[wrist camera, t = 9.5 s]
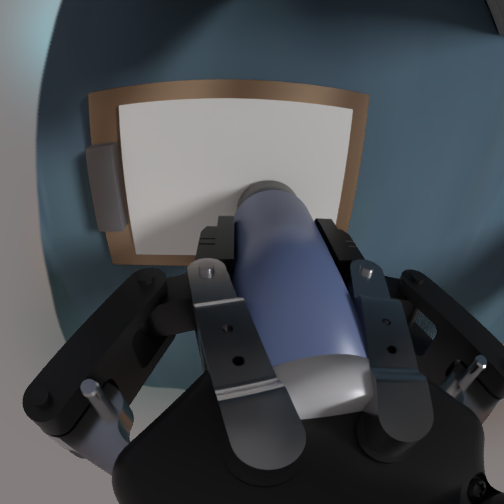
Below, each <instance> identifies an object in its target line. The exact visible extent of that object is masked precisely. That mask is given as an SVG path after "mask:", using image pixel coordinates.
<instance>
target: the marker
mask: <svg viewBox="0 0 504 504" xmlns="http://www.w3.org/2000/svg"><path fill="white" fill-rule="evenodd" d="M232 285H233V287H234V290H235V293H236V295H237V298H238V297H243V299H244V300H245V303H246V305H247V308H248V310H249V312H250V315H251V317H252V320H253V322H254V324H255V327H256V329H257V332H258V334H259V336H260V339H261V341H262V344H263V346H264V348H265V351H266V353H267V355H268V358H269V360H270V363H271V365H272V367H273V370H274V372H275V374H276V376H277V378H278V379H279V380H280V381H281V382H282V383H283V384H284V386H285V387H286V389H287V391H288V393H289V395H290V398H291V400H292V402H293V404H294V406H295V409H296V411H297V413H298V415H299V417H300V420H301V419H311V418H320V417H328V416H335V415H342V414H348V413H354V412H360V411H364V408H365V406H366V405H367V404H368V402H369V401H370V400H371V398H372V397H373V396H374V394H373V386H372V379H371V372H370V366H369V360H368V355H367V350H366V345H365V340H364V336H363V332H362V328H361V324H360V320H359V317H358V314H357V311H356V308H355V306H354V304H353V301H352V299H351V297H350V295H349V292H348V290H347V288H346V286H345V284H344V282H343V279H342V277H341V275H340V273H339V271H338V269H337V267H336V265H335V263H334V260H333V258H332V256H331V254H330V252H329V250H328V248H327V246H326V244H325V242H324V240H323V238H322V236H321V234H320V232H319V230H318V228H317V226H316V224H315V222H314V221H313V219H312V217H311V215H310V213H309V211H308V209H307V207H306V206H305V204H304V203H303V202H302V201H301V200H300V199H299V198H298V197H297V196H296V194H295V193H294V192H293V190H292V189H291V188H290V187H288V186H287V185H285V184H283V183H281V182H278V181H273V180H265V181H260V182H257V183H255V184H253V185H251V186H249V187H248V188H247V189H246V190H245V191H244V192H243V193H242V195H241V196H240V198H239V201H238V204H237V211H236V213H235V216H234V272H233V276H232Z"/></svg>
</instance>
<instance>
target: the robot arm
mask: <svg viewBox="0 0 504 504" xmlns="http://www.w3.org/2000/svg"><path fill="white" fill-rule="evenodd" d="M314 222H315V224H316V226H317V228H318V230H319V232H320V234H321V236H322V238H323V240H324V242H325V244H326V246H327V248H328V250H329V252H330V254H331V256H332V258H333V260H334V263H335V265H336V267H337V269H338V271H339V273H340V275H341V277H342V279H343V282H344V284H345V286H346V288H347V290H348V292H349V295H350V297H351V299H352V301H353V304H354V306H355V308H356V311H357V314H358V317H359V320H360V324H361V328H362V332H363V336H364V340H365V345H366V350H367V355H368V360H369V366H370V372H371V379H372V386H373V394H374V396H373V397H372V398H371V400H370V401H369V402H368V404H367V405H366V406H365V408H364V411H360V412H354V413H348V414H342V415H335V416H328V417H320V418H311V419H301V420H300V417H299V415H298V413H297V411H296V409H295V406H294V404H293V402H292V400H291V398H290V395H289V393H288V391H287V389H286V387H285V386H284V384H283V383H282V382H281V381H280V380H279V379H278V378H277V376H276V374H275V372H274V370H273V367H272V365H271V363H270V360H269V358H268V355H267V353H266V351H265V348H264V346H263V344H262V341H261V339H260V336H259V334H258V332H257V329H256V327H255V324H254V322H253V320H252V317H251V315H250V312H249V310H248V308H247V305H246V303H245V300H244V299H243V297H238V298H237V295H236V293H235V290H234V287H233V285H232V276H233V272H234V216H218V223H217V226H206V227H205V228H204V229H203V230H202V231H201V233H200V238H199V242H198V247H197V252H196V256H195V261H194V262H192V263H191V264H190V265H189V266H188V268H187V272H186V273H185V274H182V275H180V276H176V277H170V278H166V276H165V274H164V273H163V272H162V271H161V270H158V269H154V268H146V269H141V270H139V271H137V272H135V273H133V274H132V275H131V276H130V277H129V278H128V279H127V280H126V281H125V282H124V283H123V284H122V285H121V286H120V287H119V288H118V289H117V290H116V291H115V292H114V293H113V294H112V295H111V296H110V297H109V298H108V299H107V300H106V301H105V302H104V303H103V304H102V305H101V306H100V307H99V308H98V309H97V310H96V311H95V312H94V313H93V314H92V315H91V316H90V317H89V318H88V319H87V321H86V322H85V323H84V324H83V325H82V326H81V327H80V328H79V329H78V330H77V331H76V332H75V333H74V335H73V336H72V337H71V338H70V339H69V340H68V341H67V342H66V343H65V344H64V346H63V347H62V348H61V349H60V350H59V351H58V352H57V353H56V355H55V356H54V357H53V358H52V359H51V360H50V361H49V363H48V364H47V365H46V366H45V367H44V368H43V369H42V371H41V372H40V373H39V374H38V376H37V377H36V378H35V379H34V380H33V381H32V383H31V384H30V385H29V386H28V388H27V389H26V391H25V393H24V396H23V408H24V411H25V413H26V414H27V416H28V417H29V418H30V419H31V420H33V421H34V422H35V423H36V424H37V425H38V426H39V427H40V428H41V429H42V430H43V432H44V433H46V434H47V435H48V436H49V437H50V438H52V439H53V440H54V441H55V442H57V443H58V444H59V445H60V446H62V447H63V448H65V449H67V450H69V451H70V452H71V453H73V454H74V455H75V456H77V457H80V458H84V459H87V460H89V461H90V462H92V463H93V464H94V465H96V466H98V467H99V468H101V469H102V470H104V471H105V472H107V473H109V474H110V475H112V486H113V490H114V493H115V496H116V498H117V500H118V502H119V504H504V493H502V492H500V491H497V490H496V489H494V488H493V487H491V486H490V484H489V483H488V481H487V479H486V476H485V470H484V431H483V427H482V424H483V422H484V421H485V420H486V419H487V417H488V416H489V414H490V413H491V412H492V410H493V409H494V408H495V407H496V406H497V405H498V404H499V403H500V402H501V401H502V400H503V399H504V346H503V345H502V344H501V343H500V342H499V341H498V340H497V339H496V338H495V337H494V336H493V335H492V334H491V333H490V332H489V331H488V330H487V329H486V328H485V327H484V326H483V325H482V324H481V323H480V322H479V321H478V320H476V319H475V318H474V317H473V316H472V315H471V314H470V313H469V312H468V311H467V310H465V309H464V308H463V307H462V306H461V305H460V304H459V303H458V302H456V301H455V300H454V299H453V298H452V297H451V296H449V295H448V294H447V293H446V292H445V291H444V290H442V289H441V288H440V287H439V286H438V285H436V284H435V283H434V282H433V281H432V280H430V279H429V278H428V277H427V276H426V275H424V274H423V273H421V272H419V271H416V270H405V271H403V272H402V275H401V277H400V279H397V278H392V277H387V276H384V273H383V270H382V269H381V268H380V266H378V265H377V264H375V263H374V262H371V261H368V260H365V259H364V257H363V256H362V254H361V253H360V251H359V249H358V248H357V247H356V245H355V243H354V242H353V240H352V239H351V237H350V235H349V234H347V233H346V232H345V231H343V230H342V229H338V228H337V227H336V225H335V224H334V222H333V220H332V219H323V218H316V219H315V221H314ZM419 311H421V312H422V313H423V314H424V315H425V316H426V317H427V318H428V319H430V320H431V321H432V322H433V323H434V324H435V326H436V329H437V334H436V337H435V338H434V340H432V339H431V338H430V337H429V336H428V335H427V334H426V333H425V332H424V331H423V330H422V329H421V328H420V327H419V326H418V325H417V324H416V323H415V322H414V321H415V319H416V317H417V315H418V313H419ZM192 330H195V334H196V339H197V344H198V349H199V354H200V358H201V363H202V368H203V374H202V375H201V376H200V377H199V378H198V379H197V380H196V381H195V382H194V383H193V384H192V385H191V386H190V387H189V388H188V389H187V390H186V391H185V392H184V393H183V394H182V395H181V396H180V397H179V398H178V399H176V400H175V401H174V402H173V403H172V404H171V405H170V406H169V407H168V408H167V409H166V410H165V411H164V412H163V413H162V414H161V415H160V416H159V417H158V418H156V419H155V420H154V421H153V422H152V423H151V424H150V425H149V426H148V427H147V428H146V429H145V430H143V431H142V432H141V433H140V434H139V435H138V436H137V437H136V438H135V439H133V440H132V441H131V442H130V438H129V436H130V430H131V428H132V426H133V422H134V416H133V412H132V410H131V409H130V407H129V405H130V404H131V402H132V401H133V399H134V398H135V396H136V395H137V393H138V392H139V390H140V389H141V387H142V386H143V384H144V383H145V381H146V380H147V378H148V377H149V375H150V374H151V372H152V371H153V369H154V368H155V366H156V365H157V363H158V362H159V360H160V359H161V357H162V356H163V354H164V353H165V351H166V350H167V348H168V347H169V346H170V344H171V343H172V341H173V340H174V338H175V335H176V334H179V333H183V332H188V331H192Z"/></svg>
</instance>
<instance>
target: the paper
mask: <svg viewBox="0 0 504 504" xmlns="http://www.w3.org/2000/svg"><path fill="white" fill-rule="evenodd" d="M352 114H353V109H348V108H342V107H335V106H328V105H321V104H312V103H303V102H293V101H282V100H267V99H243V98H202V99H179V100H164V101H152V102H142V103H134V104H126V105H119V121H120V137H121V150H122V161H123V171H124V180H125V188H126V196H127V203H128V210H129V216H130V223H131V229H132V234H133V240H134V245H135V251H136V254H143V255H196V252H197V247H198V242H199V238H200V233H201V231H202V230H203V229H204V228H205V227H206V226H217V223H218V216H235V213H236V211H237V204H238V201H239V198H240V196H241V195H242V193H243V192H244V191H245V190H246V189H247V188H248V187H249V186H251V185H253V184H255V183H257V182H260V181H265V180H273V181H278V182H281V183H283V184H285V185H287V186H288V187H290V188H291V189H292V190H293V192H294V193H295V194H296V196H297V197H298V198H299V199H300V200H301V201H302V202H303V203H304V204H305V206H306V207H307V209H308V211H309V213H310V215H311V217H312V219H313V221H315V219H316V218H323V219H332V220H333V222H334V224H335V225H336V220H337V215H338V209H339V204H340V198H341V192H342V186H343V180H344V174H345V167H346V161H347V154H348V147H349V139H350V131H351V123H352Z"/></svg>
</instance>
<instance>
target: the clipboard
mask: <svg viewBox="0 0 504 504" xmlns="http://www.w3.org/2000/svg"><path fill="white" fill-rule="evenodd" d="M202 98H243V99H267V100H282V101H293V102H303V103H312V104H321V105H328V106H335V107H342V108H348V109H353V114H352V123H351V131H350V139H349V147H348V154H347V161H346V167H345V174H344V180H343V186H342V192H341V198H340V204H339V209H338V215H337V220H336V227H337V228H338V229H342V230H343V231H345V232H346V233H347V231H348V227H349V222H350V217H351V212H352V208H353V202H354V197H355V192H356V187H357V181H358V175H359V169H360V163H361V157H362V151H363V144H364V137H365V129H366V121H367V113H368V104H369V95H368V94H363V93H358V92H353V91H348V90H342V89H336V88H330V87H323V86H316V85H308V84H299V83H290V82H278V81H263V80H236V79H212V80H185V81H170V82H159V83H149V84H141V85H133V86H126V87H119V88H113V89H108V90H102V91H97V92H92V93H88V102H89V120H90V133H91V144H92V145H91V146H89V147H87V148H85V154H86V162H87V169H88V176H89V183H90V189H91V195H92V200H93V206H94V211H95V216H96V221H97V226H98V230H99V232H105V233H106V237H107V242H108V246H109V250H110V255H111V259H112V263H113V264H123V265H170V266H189V265H190V264H191V263H192V262H194V261H195V256H196V255H143V254H136V251H135V245H134V240H133V234H132V229H131V223H130V216H129V210H128V203H127V196H126V188H125V180H124V171H123V161H122V150H121V137H120V121H119V105H126V104H134V103H142V102H152V101H164V100H179V99H202Z"/></svg>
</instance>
